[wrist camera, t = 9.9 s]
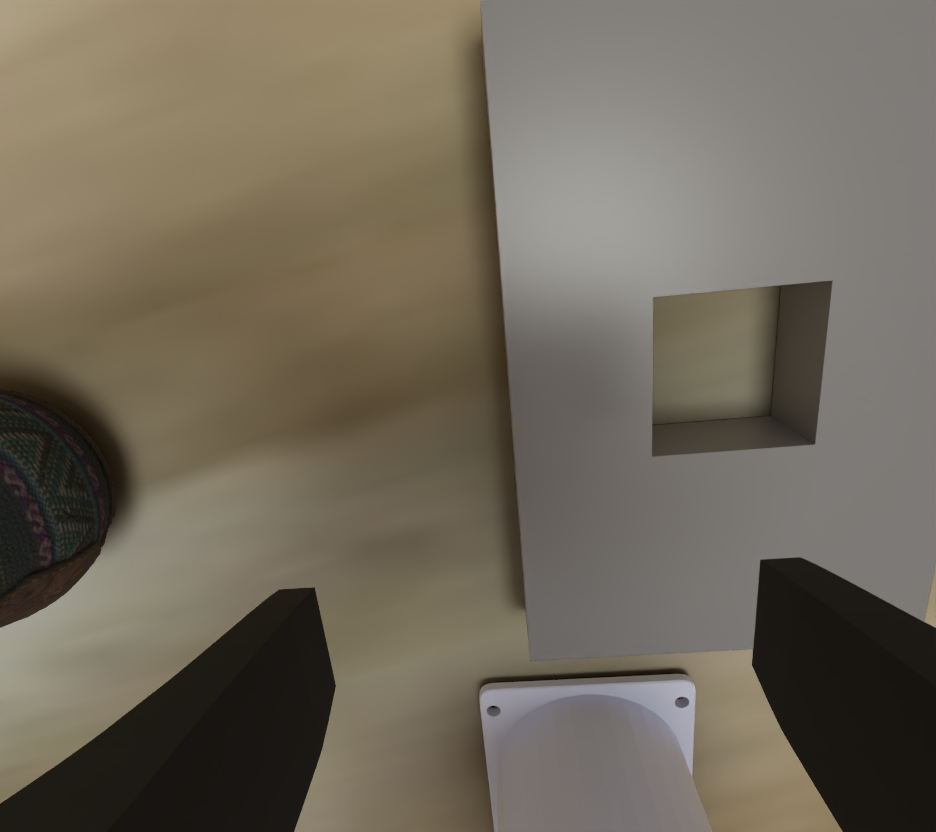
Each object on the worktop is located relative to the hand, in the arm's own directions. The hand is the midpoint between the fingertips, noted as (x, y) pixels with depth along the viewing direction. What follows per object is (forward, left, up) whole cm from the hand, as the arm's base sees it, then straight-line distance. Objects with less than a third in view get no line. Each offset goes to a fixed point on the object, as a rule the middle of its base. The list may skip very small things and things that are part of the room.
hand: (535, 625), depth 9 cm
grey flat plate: (+2, -6, -9) cm, 11 cm away
